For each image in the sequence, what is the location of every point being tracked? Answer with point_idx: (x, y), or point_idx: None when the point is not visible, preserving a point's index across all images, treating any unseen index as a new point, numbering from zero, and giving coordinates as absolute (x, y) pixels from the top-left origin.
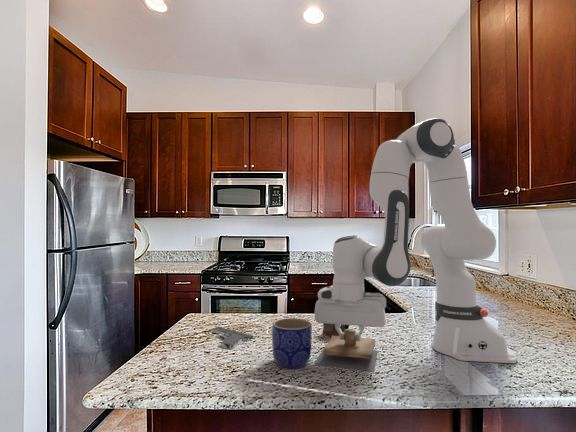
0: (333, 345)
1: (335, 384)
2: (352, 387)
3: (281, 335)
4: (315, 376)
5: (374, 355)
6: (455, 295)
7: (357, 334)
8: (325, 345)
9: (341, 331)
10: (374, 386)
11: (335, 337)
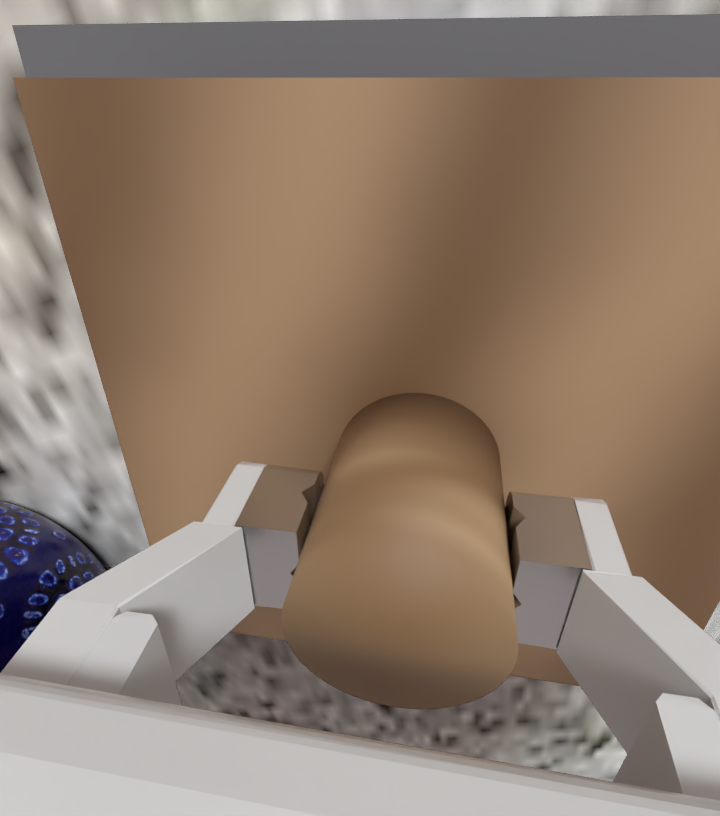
0: None
1: (372, 730)
2: (466, 747)
3: None
4: (241, 677)
5: None
6: None
7: (549, 618)
8: (25, 71)
9: (229, 562)
10: (598, 735)
11: (115, 193)
